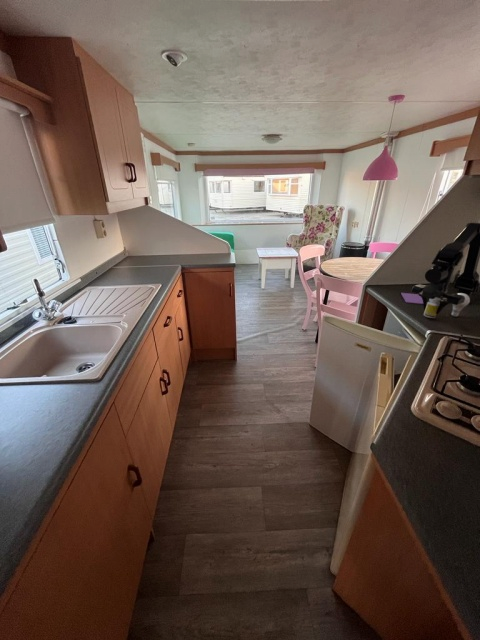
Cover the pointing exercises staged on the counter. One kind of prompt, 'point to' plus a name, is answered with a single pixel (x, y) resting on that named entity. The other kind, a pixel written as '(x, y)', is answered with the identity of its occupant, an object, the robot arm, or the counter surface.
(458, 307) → the lightbulb
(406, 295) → the cloth
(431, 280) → the robot arm
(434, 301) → the supplement bottle
